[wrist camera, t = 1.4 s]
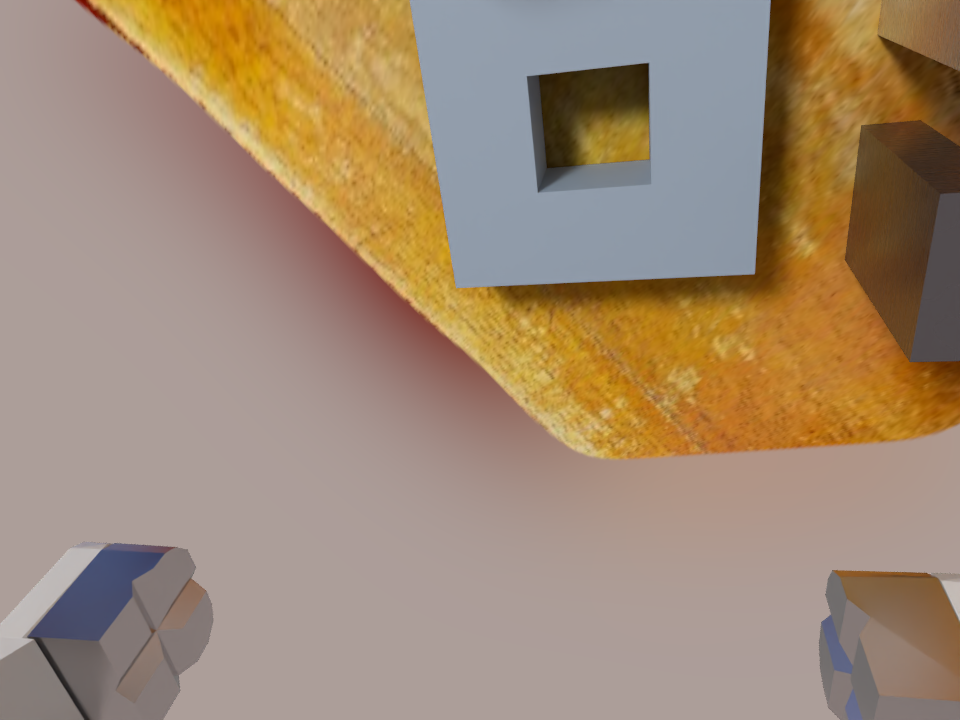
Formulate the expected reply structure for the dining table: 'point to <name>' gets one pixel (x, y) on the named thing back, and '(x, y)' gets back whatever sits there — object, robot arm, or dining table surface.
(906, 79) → the dining table surface
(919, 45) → the square bit
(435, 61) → the bore block
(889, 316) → the dark grey rectangular slab
